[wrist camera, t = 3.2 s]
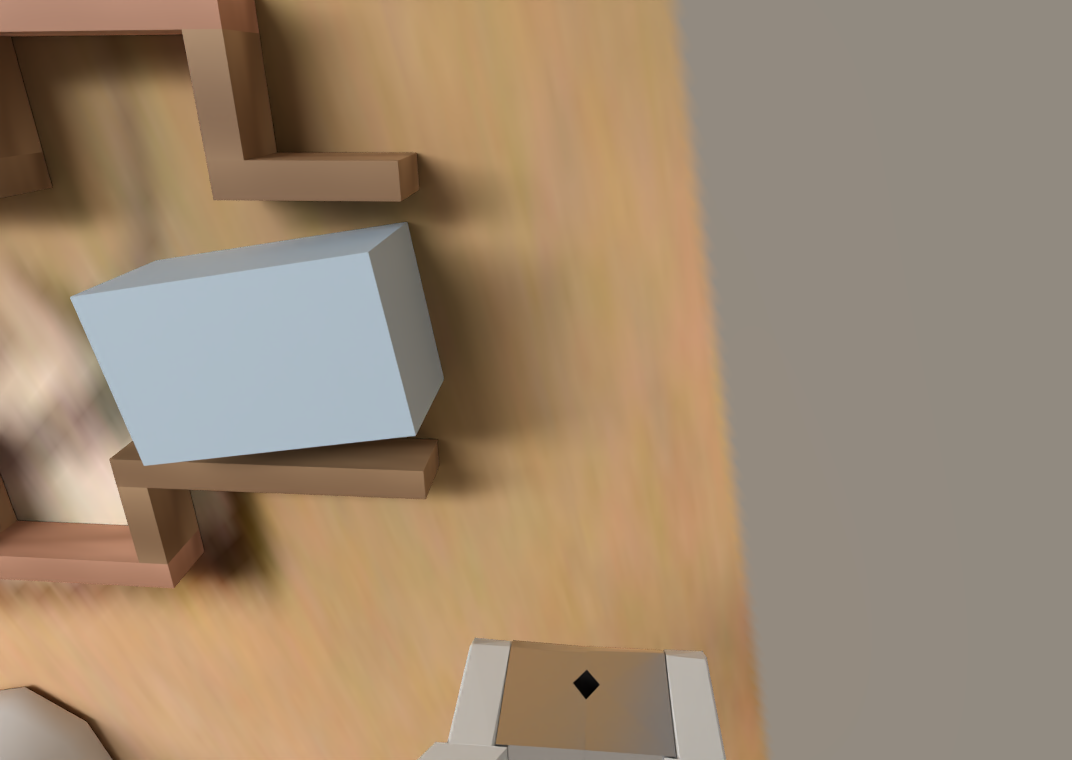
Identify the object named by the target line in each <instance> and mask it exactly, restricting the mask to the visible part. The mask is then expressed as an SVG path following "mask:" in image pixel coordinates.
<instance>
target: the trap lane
mask: <svg viewBox="0 0 1072 760" xmlns="http://www.w3.org/2000/svg"><path fill="white" fill-rule="evenodd" d="M171 34H183V39H184V45H185V50H186V55H187V61H188V66H189V71H190V77H191V82H192V87H193V92H194V98H195V103H196V108H197V114H198V119H199V124H200V130H201V135H202V140H203V146H204V151H205V156H206V162H207V167H208V172H209V178H210V183H211V188H212V194H213V199H214V200H270V201H403V200H404V199H406V198H407V197H409V196H410V195H412V194H413V193H415V192H417V191H418V190H419V176H418V162H417V153H347V152H277V150H276V143H275V136H274V129H273V123H272V116H271V109H270V102H269V96H268V89H267V82H266V75H265V69H264V62H263V55H262V48H261V42H260V35H259V28H258V21H257V15H256V8H255V1H254V0H0V198H4V197H9V196H14V195H19V194H24V193H29V192H33V191H38V190H43V189H48V188H52V184H51V181H50V177H49V173H48V170H47V166H46V162H45V159H44V155H43V152H42V148H41V144H40V141H39V137H38V134H37V130H36V126H35V123H34V119H33V115H32V112H31V108H30V105H29V101H28V97H27V94H26V90H25V86H24V83H23V79H22V76H21V72H20V68H19V65H18V61H17V58H16V54H15V50H14V47H13V43H12V39H11V36H90V35H171ZM109 460H110V463H111V467H112V470H113V474H114V477H115V481H116V484H117V488H118V491H119V495H120V498H121V502H122V505H123V509H124V512H125V515H126V519H127V522H128V526H124V525H103V524H81V523H59V522H37V521H17V519H16V516H15V514H14V511H13V508H12V505H11V503H10V500H9V497H8V494H7V492H6V489H5V486H4V483H3V481H2V478H1V475H0V579H10V580H29V581H48V582H67V583H86V584H105V585H124V586H143V587H162V588H175V586H176V585H177V584H178V583H179V581H180V580H181V579H182V578H183V577H184V575H185V574H186V573H187V572H188V571H189V569H190V568H191V567H192V566H193V565H194V563H195V562H196V561H197V560H198V559H199V557H200V556H201V555H202V554H203V553H204V548H203V544H202V540H201V536H200V532H199V527H198V523H197V519H196V515H195V511H194V507H193V502H192V498H191V494H190V490H211V491H236V492H260V493H284V494H309V495H333V496H357V497H381V498H406V499H426V497H427V495H428V492H429V490H430V487H431V485H432V483H433V480H434V478H435V475H436V473H437V470H438V468H439V456H438V442H437V440H433V439H404V438H390V439H381V440H372V441H363V442H354V443H345V444H336V445H327V446H319V447H310V448H301V449H292V450H283V451H274V452H265V453H256V454H247V455H238V456H229V457H220V458H211V459H202V460H193V461H184V462H175V463H166V464H157V465H148V466H144V465H143V462H142V460H141V458H140V456H139V453H138V451H137V449H136V446H135V444H134V442H133V441H132V442H131V443H129V444H128V445H127V446H126V447H124V448H123V449H122V450H121V451H119V452H118V453H117V454H115V455H114V456H113V457H112V458H110V459H109Z"/></svg>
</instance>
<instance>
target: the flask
mask: <svg viewBox="0 0 1072 760" xmlns="http://www.w3.org/2000/svg"><path fill="white" fill-rule="evenodd" d="M0 760H112V758H111V757H110V755H109V754H108V753H107V751H106V750H105V748H104V747H103V745H102V744H101V742H100V741H99V739H98V738H97V736H96V735H95V733H94V732H93V730H92V729H91V728H90V726H89V725H88V723H87V722H86V721H84V720H83V719H81V718H79V717H77V716H75V715H74V714H72V713H70V712H68V711H67V710H65V709H63V708H61V707H59V706H58V705H56V704H54V703H52V702H51V701H49V700H47V699H45V698H43V697H42V696H40V695H38V694H36V693H35V692H33V691H31V690H29V689H27V688H26V687H21V688H14V689H7V690H0Z"/></svg>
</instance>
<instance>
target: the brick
mask: <svg viewBox="0 0 1072 760" xmlns="http://www.w3.org/2000/svg"><path fill="white" fill-rule="evenodd" d="M70 298H71V301H72V303H73V305H74V308H75V310H76V312H77V314H78V317H79V319H80V321H81V324H82V326H83V328H84V330H85V333H86V335H87V337H88V339H89V342H90V344H91V346H92V349H93V351H94V353H95V355H96V358H97V360H98V362H99V364H100V367H101V369H102V371H103V374H104V376H105V378H106V380H107V383H108V385H109V387H110V390H111V392H112V394H113V396H114V399H115V401H116V403H117V405H118V408H119V410H120V412H121V415H122V417H123V419H124V421H125V424H126V426H127V428H128V431H129V433H130V435H131V437H132V440H133V442H134V444H135V446H136V449H137V451H138V453H139V456H140V458H141V460H142V462H143V465H144V466H148V465H157V464H166V463H175V462H184V461H193V460H202V459H211V458H220V457H229V456H238V455H247V454H256V453H265V452H274V451H283V450H292V449H301V448H310V447H319V446H327V445H336V444H345V443H354V442H363V441H372V440H381V439H390V438H399V437H408V436H416V434H417V432H418V430H419V428H420V426H421V424H422V422H423V420H424V418H425V416H426V414H427V412H428V410H429V408H430V406H431V404H432V402H433V400H434V398H435V396H436V394H437V392H438V390H439V388H440V386H441V384H442V382H443V380H444V377H443V372H442V368H441V364H440V360H439V355H438V351H437V347H436V342H435V338H434V334H433V330H432V325H431V321H430V317H429V312H428V308H427V304H426V300H425V295H424V291H423V287H422V283H421V278H420V274H419V270H418V265H417V261H416V257H415V253H414V248H413V244H412V240H411V236H410V231H409V227H408V223H407V222H401V223H395V224H388V225H382V226H376V227H369V228H363V229H356V230H350V231H343V232H337V233H330V234H324V235H317V236H311V237H305V238H298V239H292V240H285V241H279V242H272V243H266V244H259V245H253V246H246V247H240V248H233V249H227V250H221V251H214V252H208V253H201V254H195V255H188V256H182V257H175V258H169V259H162V260H156V261H154V262H151V263H149V264H147V265H144V266H142V267H139V268H137V269H135V270H132V271H130V272H128V273H125V274H123V275H121V276H118V277H116V278H114V279H111V280H109V281H106V282H104V283H102V284H99V285H97V286H95V287H92V288H90V289H88V290H85V291H83V292H81V293H78V294H76V295H73V296H71V297H70Z"/></svg>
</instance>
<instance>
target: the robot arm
mask: <svg viewBox="0 0 1072 760" xmlns="http://www.w3.org/2000/svg"><path fill="white" fill-rule="evenodd" d="M417 760H726V756H725V751H724V746H723V741H722V735H721V730H720V725H719V720H718V714H717V709H716V704H715V699H714V694H713V688H712V683H711V678H710V673H709V668H708V662H707V657H706V656H705V654H704V653H703V651H686V650H664V651H662V650H656V649H636V648H616V647H596V646H576V645H564V644H552V643H540V642H528V641H516V640H513V641H504V640H493V639H483V638H475V639H474V640H473V642H472V644H471V646H470V649H469V653H468V657H467V661H466V666H465V670H464V674H463V678H462V683H461V687H460V691H459V695H458V700H457V704H456V708H455V712H454V717H453V721H452V725H451V729H450V734H449V738H448V742H447V743H443V742H435V743H434V744H433V745H432V746H431V747H430V748H429V749H428V750H427V751H426V752H425V753H424V754H423V755H422V756H421V757H420V758H418V759H417Z"/></svg>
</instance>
